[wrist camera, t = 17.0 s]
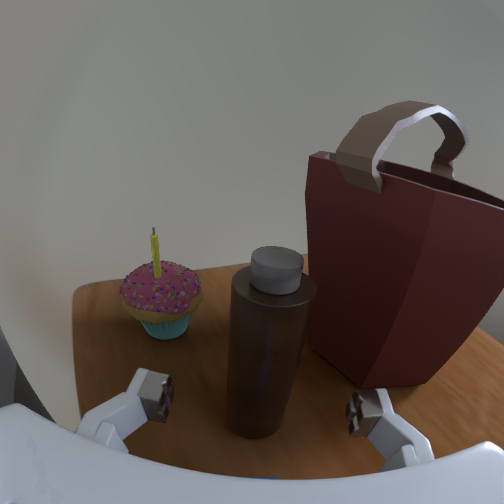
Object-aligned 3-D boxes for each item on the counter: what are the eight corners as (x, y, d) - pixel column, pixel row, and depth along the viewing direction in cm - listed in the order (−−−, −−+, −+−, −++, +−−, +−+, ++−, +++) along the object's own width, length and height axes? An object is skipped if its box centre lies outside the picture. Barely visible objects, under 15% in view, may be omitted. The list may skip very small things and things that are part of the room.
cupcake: (209, 348, 26) (208, 233, 22) (125, 355, 24) (100, 240, 19) (197, 300, 34) (195, 204, 29) (129, 305, 31) (116, 209, 26)
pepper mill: (243, 447, 17) (265, 285, 11) (216, 407, 20) (218, 245, 14) (292, 424, 19) (340, 266, 13) (262, 389, 22) (286, 235, 17)
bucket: (389, 278, 42) (420, 124, 32) (488, 357, 24) (557, 163, 13) (248, 305, 34) (265, 83, 23) (350, 462, 15) (498, 59, 5)
